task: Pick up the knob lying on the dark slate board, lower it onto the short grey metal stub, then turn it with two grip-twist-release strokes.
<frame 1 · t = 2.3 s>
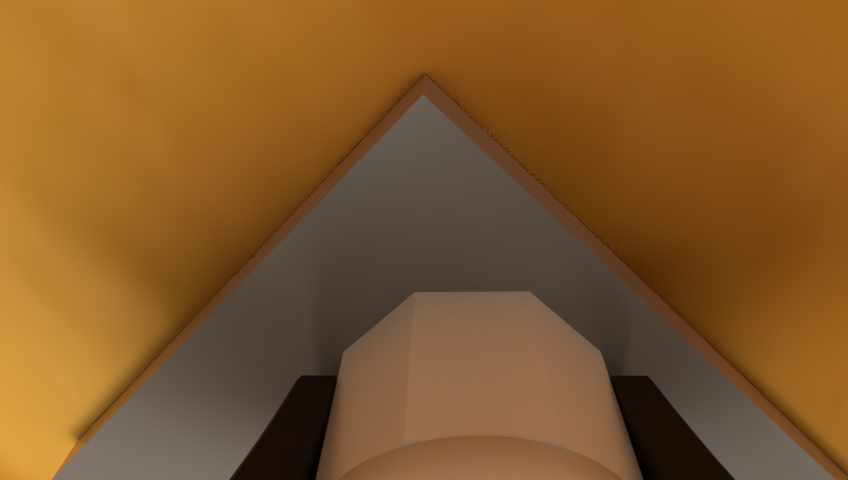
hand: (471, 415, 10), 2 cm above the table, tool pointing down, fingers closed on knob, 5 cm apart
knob: (470, 389, 11), point 1 cm above the table, touching board, gripper
board: (481, 474, 14), on the table
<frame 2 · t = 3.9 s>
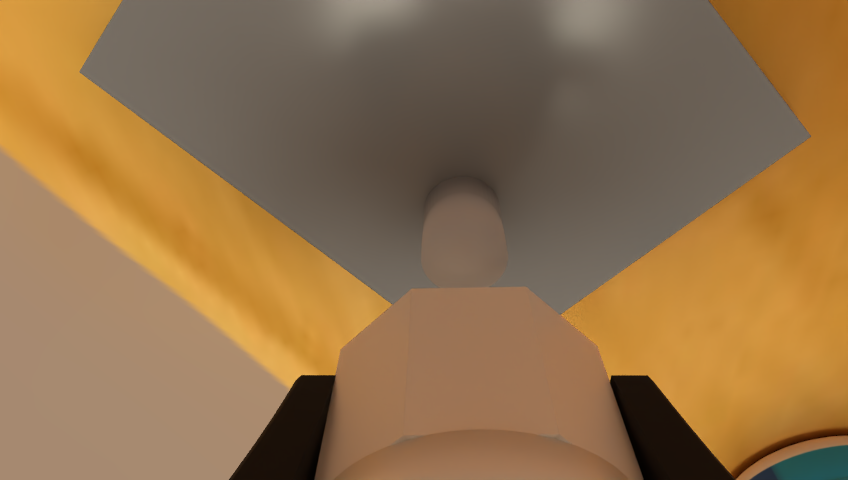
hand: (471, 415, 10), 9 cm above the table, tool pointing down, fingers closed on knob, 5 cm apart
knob: (467, 385, 11), point 8 cm above the table, touching gripper
board: (448, 92, 16), on the table
when the fingers open (2 cm above the table, at t = 5.7 s): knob stays where it is, resting on board.
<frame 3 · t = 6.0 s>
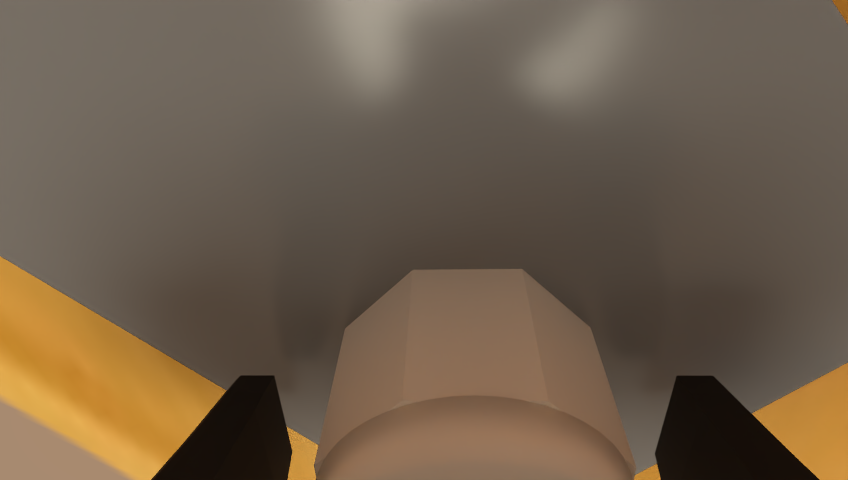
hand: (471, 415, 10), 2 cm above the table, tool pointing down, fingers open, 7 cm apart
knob: (466, 365, 11), point 1 cm above the table, touching board
board: (449, 200, 10), on the table
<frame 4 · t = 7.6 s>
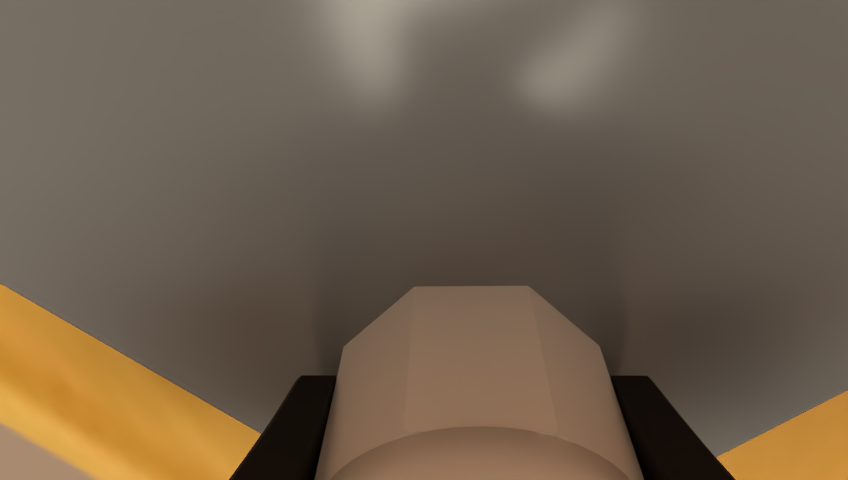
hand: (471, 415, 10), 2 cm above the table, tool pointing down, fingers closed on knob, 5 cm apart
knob: (469, 384, 11), point 1 cm above the table, touching board, gripper
board: (449, 213, 10), on the table
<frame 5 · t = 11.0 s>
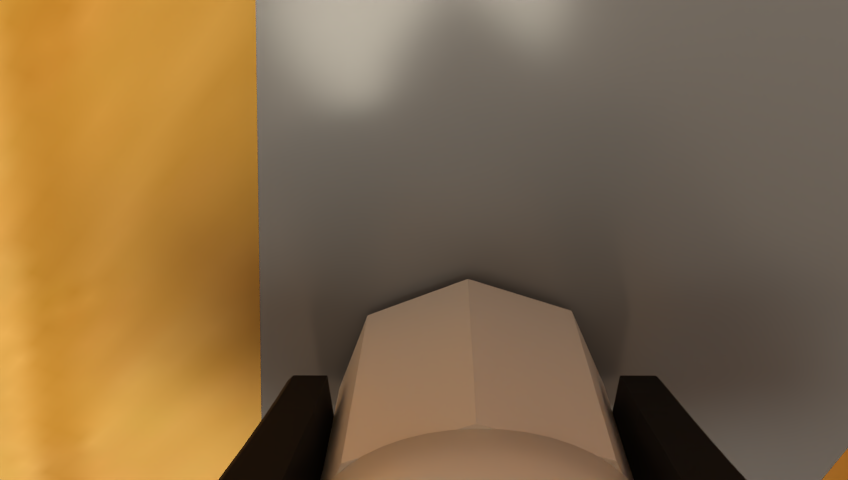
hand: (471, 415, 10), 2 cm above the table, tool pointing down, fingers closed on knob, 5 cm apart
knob: (469, 385, 11), point 1 cm above the table, touching gripper
board: (598, 255, 11), on the table
when the fingers open (2 cm above the table, at t = 11.6 s): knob stays where it is, resting on board.
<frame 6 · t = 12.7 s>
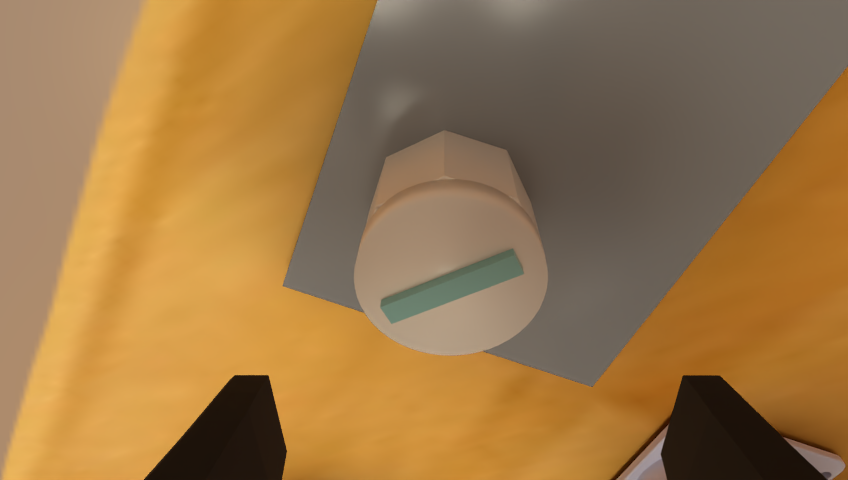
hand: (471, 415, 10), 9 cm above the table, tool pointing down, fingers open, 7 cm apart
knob: (449, 206, 18), point 1 cm above the table, touching board
board: (540, 147, 17), on the table
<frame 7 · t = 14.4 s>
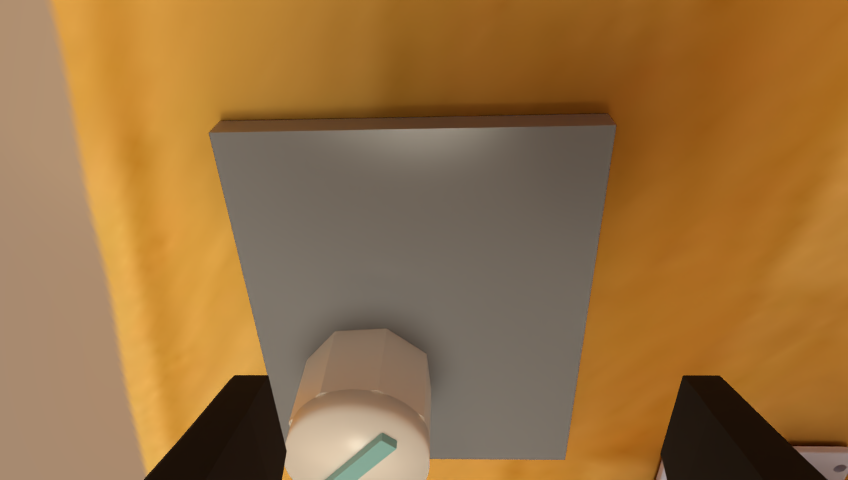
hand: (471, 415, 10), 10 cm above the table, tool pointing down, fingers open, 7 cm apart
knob: (369, 375, 22), point 1 cm above the table, touching board
board: (419, 308, 22), on the table
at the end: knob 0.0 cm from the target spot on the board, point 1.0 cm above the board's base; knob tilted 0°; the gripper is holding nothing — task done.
